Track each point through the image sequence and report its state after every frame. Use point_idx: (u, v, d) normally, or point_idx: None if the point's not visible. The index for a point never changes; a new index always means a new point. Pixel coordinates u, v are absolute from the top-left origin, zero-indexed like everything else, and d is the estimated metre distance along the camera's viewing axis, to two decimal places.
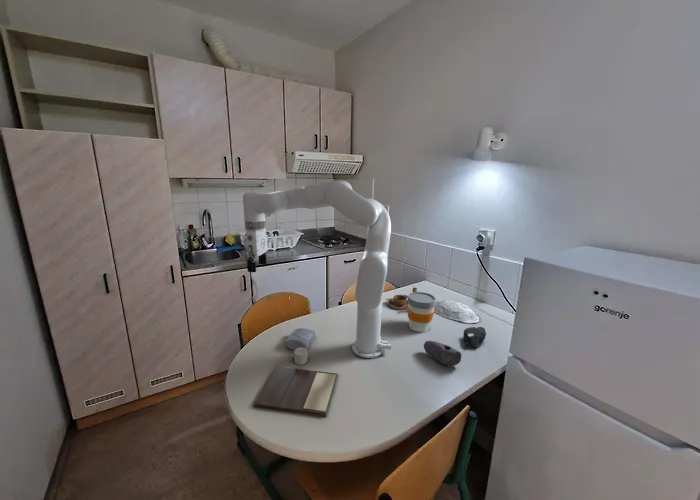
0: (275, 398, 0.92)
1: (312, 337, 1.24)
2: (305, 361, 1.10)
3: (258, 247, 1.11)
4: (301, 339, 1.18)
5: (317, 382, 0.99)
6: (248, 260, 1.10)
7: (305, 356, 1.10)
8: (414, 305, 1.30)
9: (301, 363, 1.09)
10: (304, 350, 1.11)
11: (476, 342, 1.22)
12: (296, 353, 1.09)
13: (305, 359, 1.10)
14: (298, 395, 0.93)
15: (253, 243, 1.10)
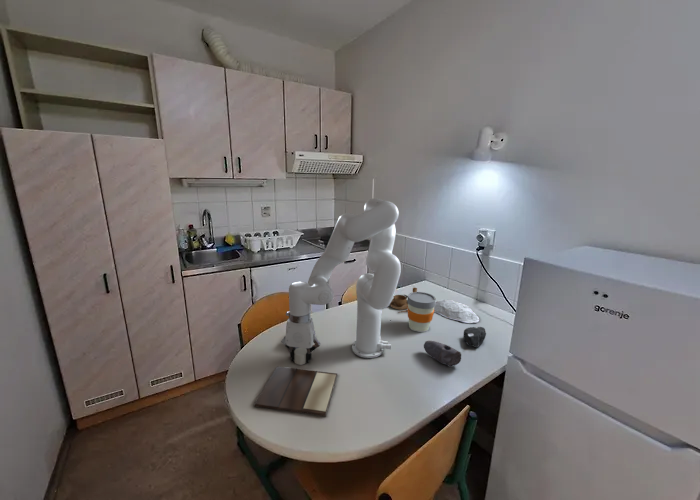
0: (275, 398, 0.92)
1: None
2: (305, 361, 1.10)
3: (288, 338, 1.07)
4: None
5: (317, 382, 0.99)
6: None
7: (305, 356, 1.10)
8: (414, 305, 1.30)
9: (301, 363, 1.09)
10: (304, 350, 1.11)
11: (476, 342, 1.22)
12: (296, 353, 1.09)
13: (305, 359, 1.10)
14: (298, 395, 0.93)
15: None
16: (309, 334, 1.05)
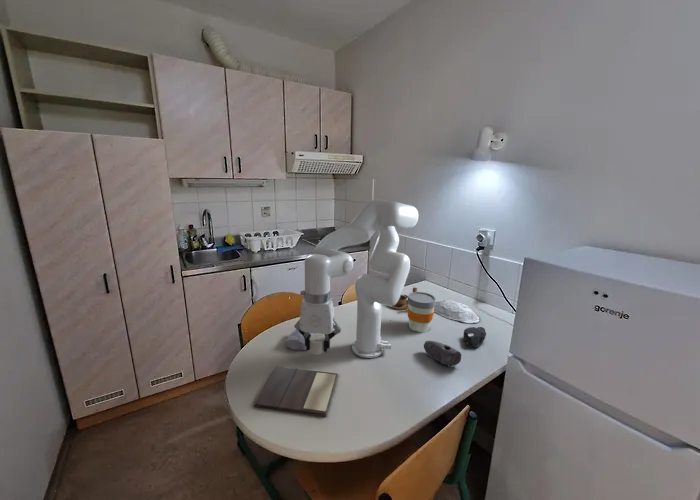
0: (275, 398, 0.92)
1: None
2: (322, 350, 0.92)
3: (303, 321, 0.89)
4: (301, 339, 1.18)
5: (317, 382, 0.99)
6: None
7: (323, 344, 0.92)
8: (414, 305, 1.30)
9: (318, 352, 0.92)
10: (321, 337, 0.94)
11: (476, 342, 1.22)
12: (312, 340, 0.92)
13: (323, 348, 0.92)
14: (298, 395, 0.93)
15: None
16: (328, 317, 0.88)
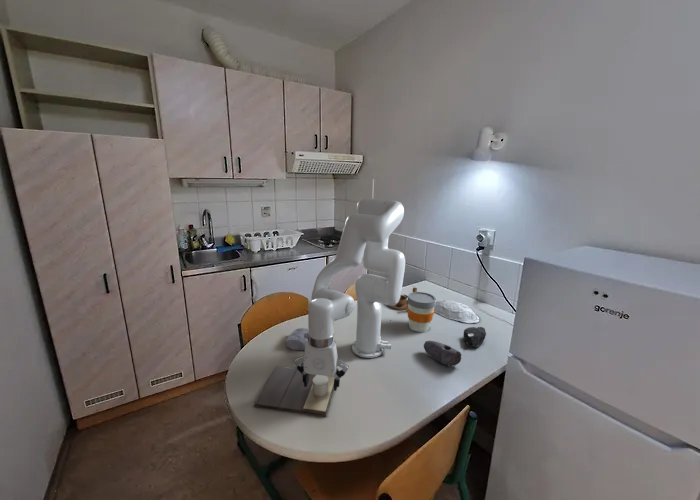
0: (275, 398, 0.92)
1: None
2: (326, 392, 0.94)
3: (307, 364, 0.91)
4: (301, 339, 1.18)
5: None
6: None
7: (326, 386, 0.93)
8: (414, 305, 1.30)
9: (321, 394, 0.93)
10: (324, 378, 0.95)
11: (476, 342, 1.22)
12: (315, 382, 0.93)
13: (326, 389, 0.94)
14: (298, 395, 0.93)
15: None
16: (332, 360, 0.89)
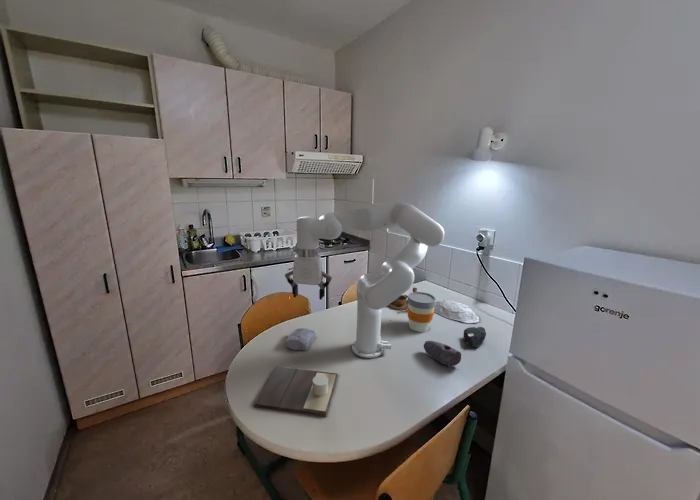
0: (275, 398, 0.92)
1: (312, 337, 1.24)
2: (326, 392, 0.94)
3: (295, 274, 1.04)
4: (301, 339, 1.18)
5: None
6: None
7: (326, 386, 0.93)
8: (414, 305, 1.30)
9: (321, 394, 0.93)
10: (324, 378, 0.95)
11: (476, 342, 1.22)
12: (315, 382, 0.93)
13: (326, 389, 0.94)
14: (298, 395, 0.93)
15: None
16: (317, 269, 1.03)
